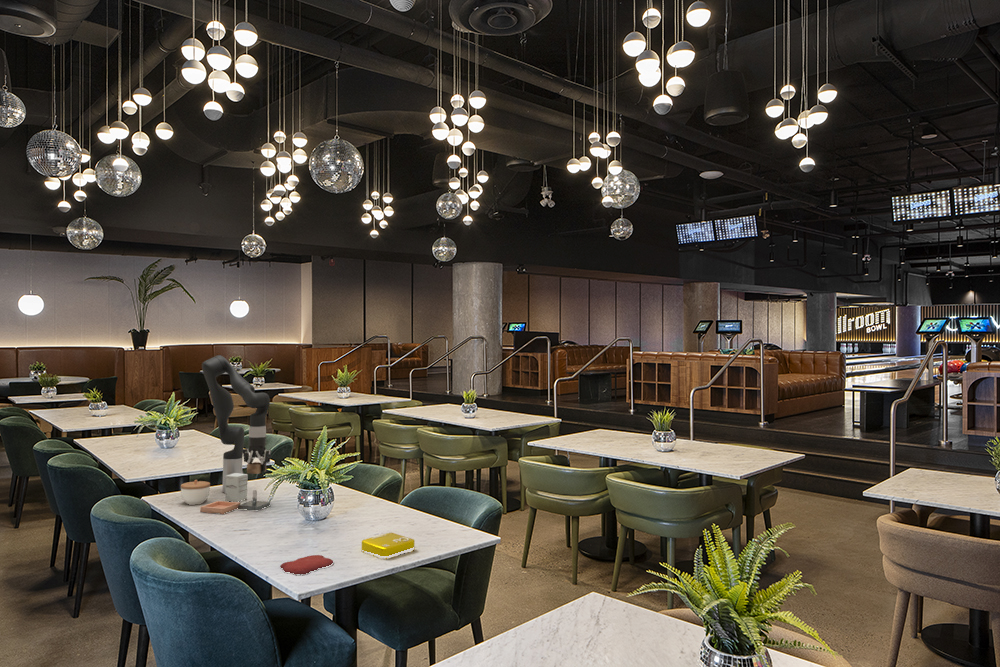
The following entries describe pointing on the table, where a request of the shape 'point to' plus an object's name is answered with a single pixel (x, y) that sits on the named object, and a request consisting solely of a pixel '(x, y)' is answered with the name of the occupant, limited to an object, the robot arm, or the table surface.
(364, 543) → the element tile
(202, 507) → the terracotta tray
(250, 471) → the brown wooden box
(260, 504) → the post stand
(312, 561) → the patty
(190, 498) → the lidded bowl
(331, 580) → the table surface
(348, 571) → the table surface
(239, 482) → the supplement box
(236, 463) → the robot arm
